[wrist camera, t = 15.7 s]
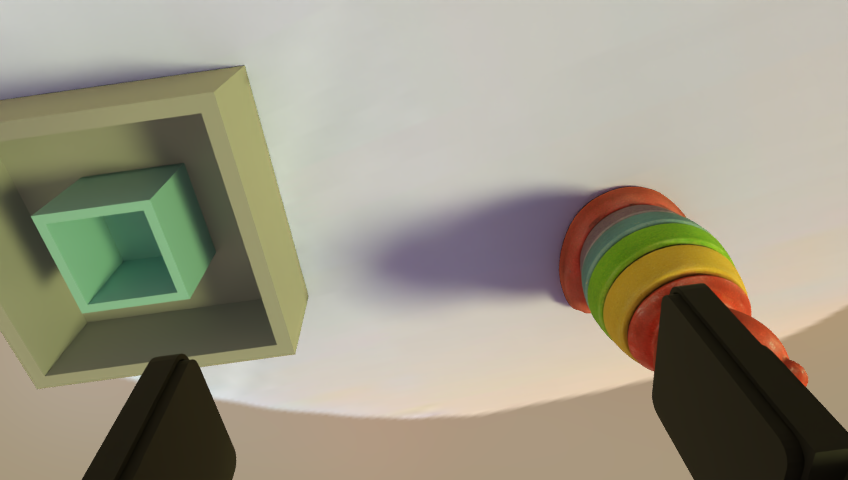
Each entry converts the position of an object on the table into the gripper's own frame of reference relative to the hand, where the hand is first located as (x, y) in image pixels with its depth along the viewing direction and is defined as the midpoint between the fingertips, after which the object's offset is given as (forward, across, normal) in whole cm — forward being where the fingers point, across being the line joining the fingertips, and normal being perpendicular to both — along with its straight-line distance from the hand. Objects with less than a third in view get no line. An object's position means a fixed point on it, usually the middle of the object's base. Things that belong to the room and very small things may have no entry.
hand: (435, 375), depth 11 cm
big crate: (+28, +19, +7) cm, 35 cm away
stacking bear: (+28, -15, +15) cm, 36 cm away
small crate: (+27, +19, +7) cm, 34 cm away
